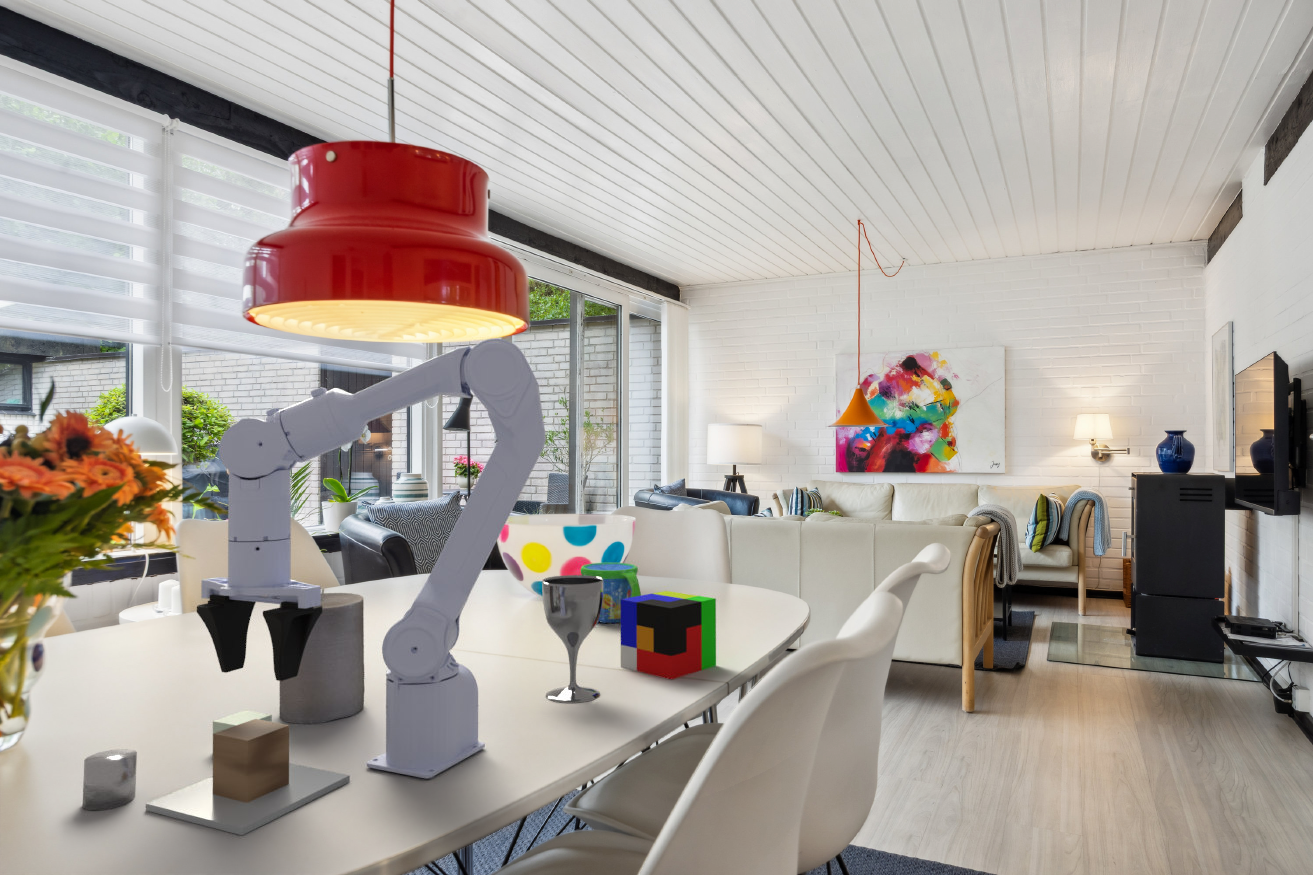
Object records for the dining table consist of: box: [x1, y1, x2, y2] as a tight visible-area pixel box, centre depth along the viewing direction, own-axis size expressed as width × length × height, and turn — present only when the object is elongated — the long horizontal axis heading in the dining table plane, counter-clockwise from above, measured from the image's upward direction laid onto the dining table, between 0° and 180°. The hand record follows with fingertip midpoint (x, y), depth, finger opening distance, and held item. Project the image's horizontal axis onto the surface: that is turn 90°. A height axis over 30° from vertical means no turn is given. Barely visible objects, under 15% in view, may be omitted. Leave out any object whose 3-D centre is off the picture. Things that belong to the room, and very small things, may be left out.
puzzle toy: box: [620, 590, 717, 680], centre depth 121 cm, size 10×10×10 cm
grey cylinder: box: [82, 748, 138, 811], centre depth 74 cm, size 4×4×4 cm
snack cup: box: [580, 562, 642, 624], centre depth 154 cm, size 16×10×10 cm
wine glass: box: [541, 574, 603, 704], centre depth 107 cm, size 8×8×15 cm
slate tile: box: [145, 762, 351, 836], centre depth 75 cm, size 12×12×1 cm
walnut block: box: [212, 719, 290, 803], centre depth 75 cm, size 4×4×6 cm
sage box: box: [212, 709, 273, 734], centre depth 87 cm, size 4×4×4 cm
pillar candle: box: [279, 588, 365, 725], centre depth 100 cm, size 10×10×15 cm
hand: (259, 673), depth 82 cm, fingers open, 7 cm apart
